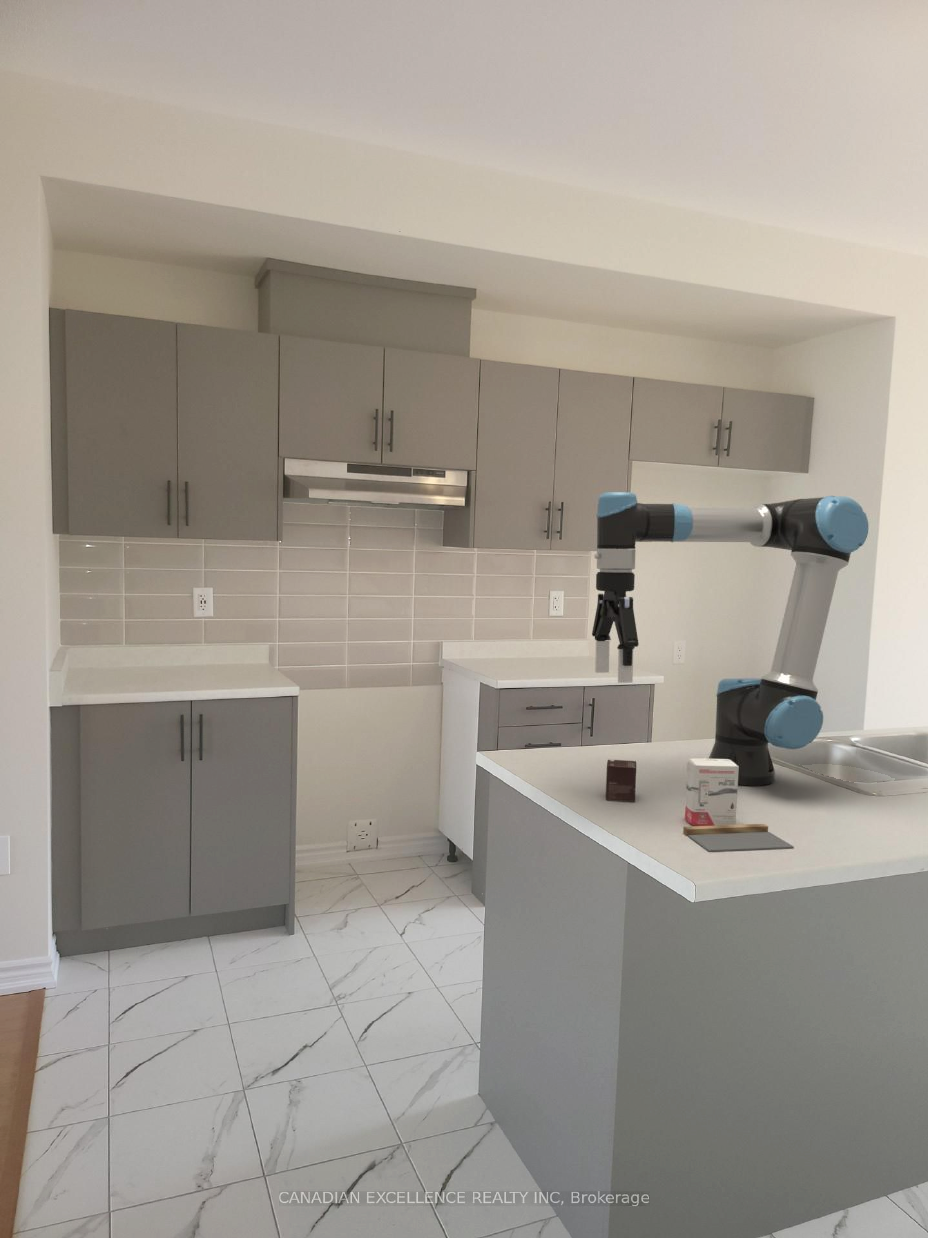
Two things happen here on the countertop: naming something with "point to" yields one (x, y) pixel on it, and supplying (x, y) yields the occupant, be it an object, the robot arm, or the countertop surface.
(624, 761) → the box
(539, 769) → the countertop surface
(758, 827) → the batten
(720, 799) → the ink box
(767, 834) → the mat
